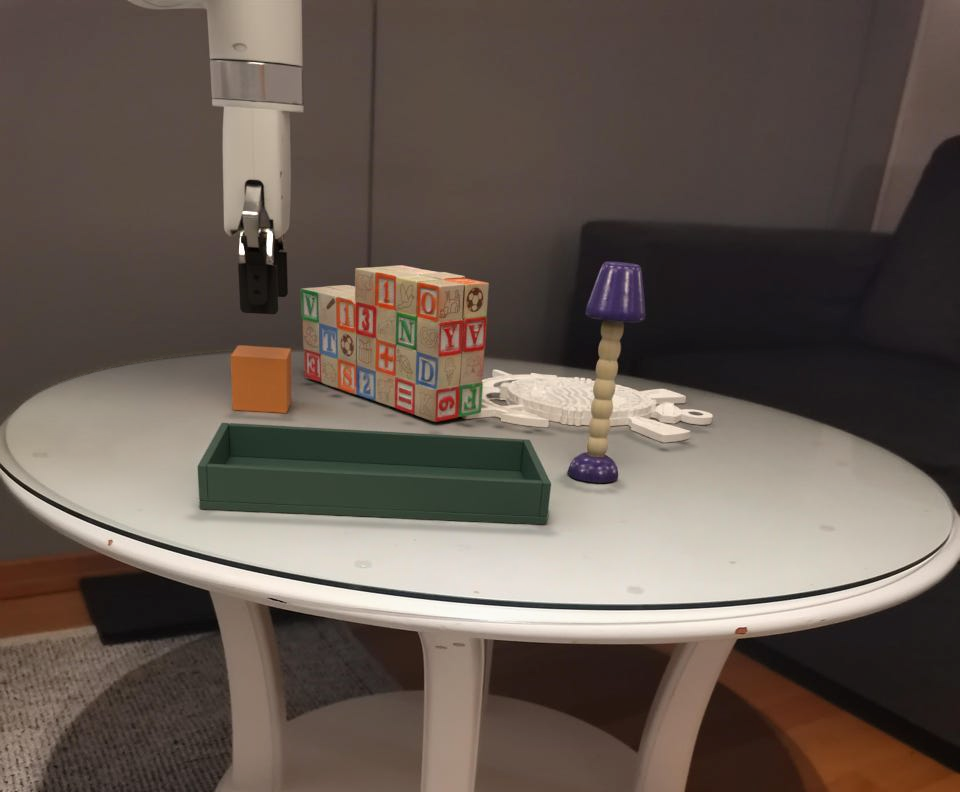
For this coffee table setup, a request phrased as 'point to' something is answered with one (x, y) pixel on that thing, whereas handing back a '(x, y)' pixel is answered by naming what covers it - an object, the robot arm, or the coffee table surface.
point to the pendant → (584, 405)
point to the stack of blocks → (400, 339)
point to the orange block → (261, 379)
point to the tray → (373, 474)
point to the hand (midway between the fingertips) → (265, 303)
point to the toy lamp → (608, 361)
